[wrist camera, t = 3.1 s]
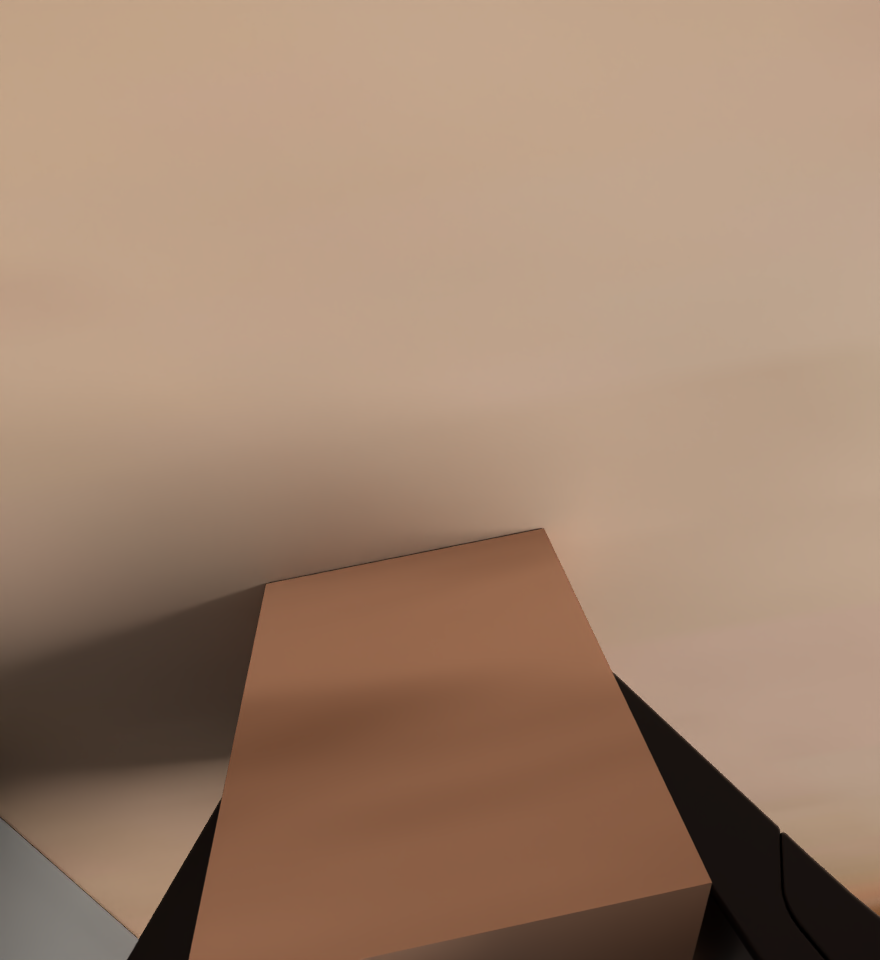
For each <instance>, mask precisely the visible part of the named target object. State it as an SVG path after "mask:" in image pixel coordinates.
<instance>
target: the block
mask: <svg viewBox="0 0 880 960" xmlns="http://www.w3.org/2000/svg"><path fill="white" fill-rule="evenodd" d="M711 885H712V881H711V879H710V877H709V875H708V873H707V871H706V869H705V867H704V864H703V862H702V860H701V858H700V856H699V854H698V852H697V850H696V848H695V845H694V843H693V841H692V839H691V837H690V835H689V833H688V831H687V829H686V827H685V824H684V822H683V820H682V818H681V816H680V814H679V812H678V810H677V808H676V805H675V803H674V801H673V799H672V797H671V795H670V793H669V791H668V789H667V787H666V784H665V782H664V780H663V778H662V776H661V774H660V772H659V770H658V768H657V765H656V763H655V761H654V759H653V757H652V755H651V753H650V751H649V749H648V747H647V744H646V742H645V740H644V738H643V736H642V734H641V732H640V730H639V728H638V726H637V723H636V721H635V719H634V717H633V715H632V713H631V711H630V709H629V707H628V704H627V702H626V700H625V698H624V696H623V694H622V692H621V690H620V688H619V686H618V683H617V681H616V679H615V677H614V675H613V673H612V671H611V669H610V667H609V664H608V662H607V660H606V658H605V656H604V654H603V652H602V650H601V648H600V646H599V643H598V641H597V639H596V637H595V635H594V633H593V631H592V629H591V627H590V624H589V622H588V620H587V618H586V616H585V614H584V612H583V610H582V608H581V606H580V603H579V601H578V599H577V597H576V595H575V593H574V591H573V589H572V587H571V584H570V582H569V580H568V578H567V576H566V574H565V572H564V570H563V568H562V566H561V563H560V561H559V559H558V557H557V555H556V553H555V551H554V549H553V547H552V544H551V542H550V540H549V538H548V536H547V534H546V532H545V530H544V528H543V529H538V530H533V531H528V532H523V533H518V534H513V535H508V536H503V537H498V538H493V539H488V540H483V541H478V542H473V543H468V544H463V545H458V546H453V547H448V548H443V549H438V550H433V551H428V552H423V553H418V554H413V555H408V556H403V557H398V558H393V559H388V560H383V561H378V562H373V563H368V564H363V565H358V566H353V567H348V568H343V569H338V570H333V571H328V572H323V573H318V574H313V575H308V576H303V577H298V578H293V579H288V580H283V581H278V582H273V583H268V584H266V587H265V592H264V596H263V601H262V606H261V611H260V616H259V621H258V626H257V630H256V635H255V640H254V645H253V650H252V655H251V660H250V664H249V669H248V674H247V679H246V684H245V689H244V694H243V698H242V703H241V708H240V713H239V718H238V723H237V728H236V732H235V737H234V742H233V747H232V752H231V757H230V762H229V766H228V771H227V776H226V781H225V786H224V791H223V796H222V800H221V805H220V810H219V815H218V820H217V825H216V830H215V834H214V839H213V844H212V849H211V854H210V859H209V864H208V868H207V873H206V878H205V883H204V888H203V893H202V898H201V902H200V907H199V912H198V917H197V922H196V927H195V931H194V936H193V941H192V946H191V951H190V956H189V960H692V959H693V955H694V951H695V947H696V943H697V939H698V935H699V931H700V928H701V924H702V920H703V916H704V912H705V908H706V904H707V900H708V896H709V893H710V889H711Z"/></svg>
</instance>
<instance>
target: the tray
mask: <svg viewBox="0 0 880 960" xmlns="http://www.w3.org/2000/svg"><path fill="white" fill-rule="evenodd" d="M138 940H139V939H137V938H136V937H135V936H134V935H133V934H132V933H131V932H130V931H128V930H127V929H126V928H125V927H124V926H123V925H122V924H120V923H119V922H118V921H117V920H116V919H115V918H114V917H112V916H111V915H110V914H109V913H108V912H107V911H106V910H105V909H103V908H102V907H101V906H100V905H99V904H98V903H97V902H95V901H94V900H93V899H92V898H91V897H90V896H89V895H87V894H86V893H85V892H84V891H83V890H82V889H81V888H80V887H78V886H77V885H76V884H75V883H74V882H73V881H72V880H70V879H69V878H68V877H67V876H66V875H65V874H64V873H62V872H61V871H60V870H59V869H58V868H57V867H56V866H55V865H53V864H52V863H51V862H50V861H49V860H48V859H47V858H45V857H44V856H43V855H42V854H41V853H40V852H39V851H37V850H36V849H35V848H34V847H33V846H32V845H31V844H30V843H28V842H27V841H26V840H25V839H24V838H23V837H22V836H20V835H19V834H18V833H17V832H16V831H15V830H14V829H12V828H11V827H10V826H9V825H8V824H7V823H6V822H5V821H3V820H2V819H1V818H0V960H127V959H128V957H129V955H130V953H131V952H132V950H133V948H134V947H135V945H136V943H137V942H138Z"/></svg>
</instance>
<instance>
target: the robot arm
mask: <svg viewBox="0 0 880 960" xmlns="http://www.w3.org/2000/svg"><path fill="white" fill-rule="evenodd" d="M612 673H613V672H612ZM613 675H614V677H615V679H616V681H617V683H618V686H619V688H620V690H621V692H622V694H623V696H624V698H625V700H626V702H627V704H628V707H629V709H630V711H631V713H632V715H633V717H634V719H635V721H636V723H637V726H638V728H639V730H640V732H641V734H642V736H643V738H644V740H645V742H646V744H647V747H648V749H649V751H650V753H651V755H652V757H653V759H654V761H655V763H656V765H657V768H658V770H659V772H660V774H661V776H662V778H663V780H664V782H665V784H666V787H667V789H668V791H669V793H670V795H671V797H672V799H673V801H674V803H675V805H676V808H677V810H678V812H679V814H680V816H681V818H682V820H683V822H684V824H685V827H686V829H687V831H688V833H689V835H690V837H691V839H692V841H693V843H694V845H695V848H696V850H697V852H698V854H699V856H700V858H701V860H702V862H703V864H704V867H705V869H706V871H707V873H708V875H709V877H710V879H711V881H712V885H711V889H710V893H709V896H708V900H707V904H706V908H705V912H704V916H703V920H702V924H701V928H700V931H699V935H698V939H697V943H696V947H695V951H694V955H693V959H692V960H880V916H878V915H877V914H876V913H875V912H874V911H872V910H871V909H870V908H869V907H867V906H866V905H865V904H864V903H863V902H861V901H860V900H859V899H858V898H857V897H855V896H854V895H853V894H852V893H851V892H850V891H848V890H847V889H846V888H845V887H844V886H843V885H842V884H841V883H839V882H838V881H837V880H836V879H835V878H834V877H833V876H832V875H831V874H829V873H828V872H827V871H826V870H825V869H824V868H823V867H822V866H820V865H819V864H818V863H817V862H816V861H815V860H814V859H813V858H812V857H810V856H809V855H808V854H807V853H806V852H805V851H804V850H803V849H802V848H801V847H800V846H799V845H798V844H797V843H796V842H794V841H793V840H792V839H791V838H790V837H789V836H788V835H787V834H786V833H784V832H782V833H780V829H779V827H778V826H777V825H776V824H775V823H774V822H773V821H772V820H771V819H770V818H769V817H767V816H766V815H765V814H764V813H763V812H762V811H761V810H760V809H759V808H758V807H757V806H756V805H755V804H754V803H752V802H751V801H750V800H749V799H748V798H747V797H746V796H745V795H744V794H743V793H742V792H741V791H740V790H739V789H737V788H736V787H735V786H734V785H733V784H732V783H731V782H730V781H729V780H728V779H727V778H726V777H725V776H724V775H722V774H721V773H720V772H719V771H718V770H717V769H716V768H715V767H714V766H713V765H712V764H711V763H710V762H709V761H707V760H706V759H705V758H704V757H703V756H702V755H701V754H700V753H699V752H698V751H697V750H696V749H695V748H694V747H692V746H691V745H690V744H689V743H688V742H687V741H686V740H685V739H684V738H683V737H682V736H681V735H680V734H679V733H677V732H676V731H675V730H674V729H673V728H672V727H671V726H670V725H669V724H668V723H667V722H666V721H665V720H664V719H662V718H661V717H660V716H659V715H658V714H657V713H656V712H655V711H654V710H653V709H652V708H651V707H650V706H649V705H647V704H646V703H645V702H644V701H643V700H642V699H641V698H640V697H639V696H638V695H637V694H636V693H635V692H634V691H632V690H631V689H630V688H629V687H628V686H627V685H626V684H625V683H624V682H623V681H622V680H621V679H620V678H619V677H618V676H616V675H615V674H614V673H613ZM221 800H222V798H221ZM221 800H220V801H219V803H218V805H217V807H216V808H215V810H214V812H213V813H212V815H211V817H210V819H209V820H208V822H207V824H206V825H205V827H204V829H203V831H202V832H201V834H200V836H199V837H198V839H197V841H196V842H195V844H194V846H193V848H192V849H191V851H190V853H189V854H188V856H187V858H186V860H185V861H184V863H183V865H182V866H181V868H180V870H179V872H178V873H177V875H176V877H175V878H174V880H173V882H172V883H171V885H170V887H169V889H168V890H167V892H166V894H165V895H164V897H163V899H162V901H161V902H160V904H159V906H158V907H157V909H156V911H155V912H154V914H153V916H152V918H151V919H150V921H149V923H148V924H147V926H146V928H145V930H144V931H143V933H142V935H141V936H140V938H139V940H138V942H137V943H136V945H135V947H134V948H133V950H132V952H131V953H130V955H129V957H128V959H127V960H189V956H190V951H191V946H192V941H193V936H194V931H195V927H196V922H197V917H198V912H199V907H200V902H201V898H202V893H203V888H204V883H205V878H206V873H207V868H208V864H209V859H210V854H211V849H212V844H213V839H214V834H215V830H216V825H217V820H218V815H219V810H220V805H221Z"/></svg>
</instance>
